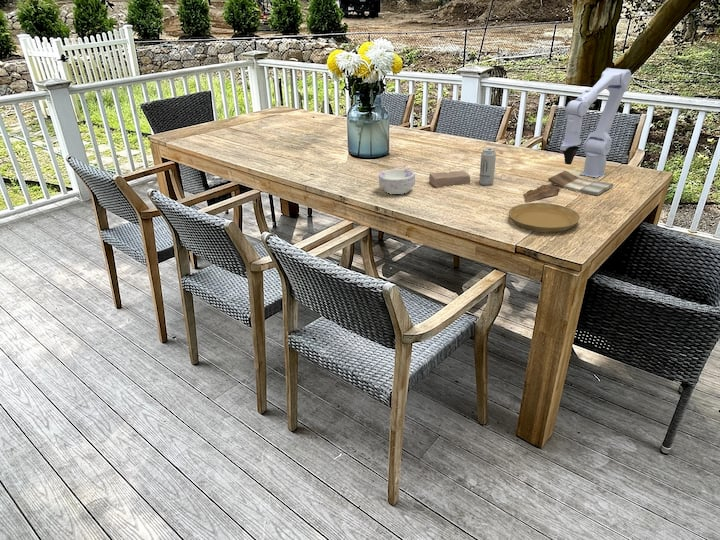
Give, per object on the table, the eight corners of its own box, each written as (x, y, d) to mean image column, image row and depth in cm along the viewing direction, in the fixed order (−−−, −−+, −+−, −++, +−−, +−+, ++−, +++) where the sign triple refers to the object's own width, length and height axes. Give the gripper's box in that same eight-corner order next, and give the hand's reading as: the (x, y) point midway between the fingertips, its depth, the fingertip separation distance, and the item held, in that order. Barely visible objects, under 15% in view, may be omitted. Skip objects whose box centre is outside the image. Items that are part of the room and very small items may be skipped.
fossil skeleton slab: (547, 184, 221) (548, 181, 220) (571, 190, 213) (571, 187, 213) (511, 199, 207) (511, 196, 206) (534, 206, 199) (535, 203, 199)
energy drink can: (476, 184, 223) (478, 150, 216) (484, 180, 227) (486, 147, 220) (488, 187, 219) (491, 152, 212) (496, 183, 223) (499, 149, 216)
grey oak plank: (595, 184, 217) (596, 181, 217) (612, 186, 213) (613, 183, 212) (580, 192, 209) (580, 189, 209) (597, 195, 204) (597, 192, 204)
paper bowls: (373, 189, 223) (373, 171, 219) (405, 183, 228) (405, 166, 224) (388, 200, 211) (387, 181, 207) (421, 194, 215) (421, 175, 212)
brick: (463, 178, 232) (463, 168, 229) (470, 184, 224) (471, 174, 222) (428, 183, 229) (428, 172, 226) (434, 188, 221) (435, 178, 219)
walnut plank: (562, 188, 214) (563, 186, 213) (547, 180, 218) (548, 178, 217) (578, 180, 223) (579, 177, 222) (564, 172, 226) (565, 170, 225)
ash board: (579, 180, 222) (579, 177, 222) (595, 183, 218) (595, 180, 217) (563, 188, 214) (563, 185, 213) (579, 192, 209) (579, 189, 209)
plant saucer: (509, 208, 198) (510, 200, 197) (576, 212, 191) (577, 204, 190) (506, 233, 178) (507, 224, 176) (581, 239, 171) (582, 229, 170)
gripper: (572, 126, 216) (567, 158, 223) (555, 133, 208) (550, 166, 214) (588, 128, 212) (583, 161, 218) (572, 135, 203) (566, 169, 210)
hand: (568, 163), depth 216 cm, fingers closed
